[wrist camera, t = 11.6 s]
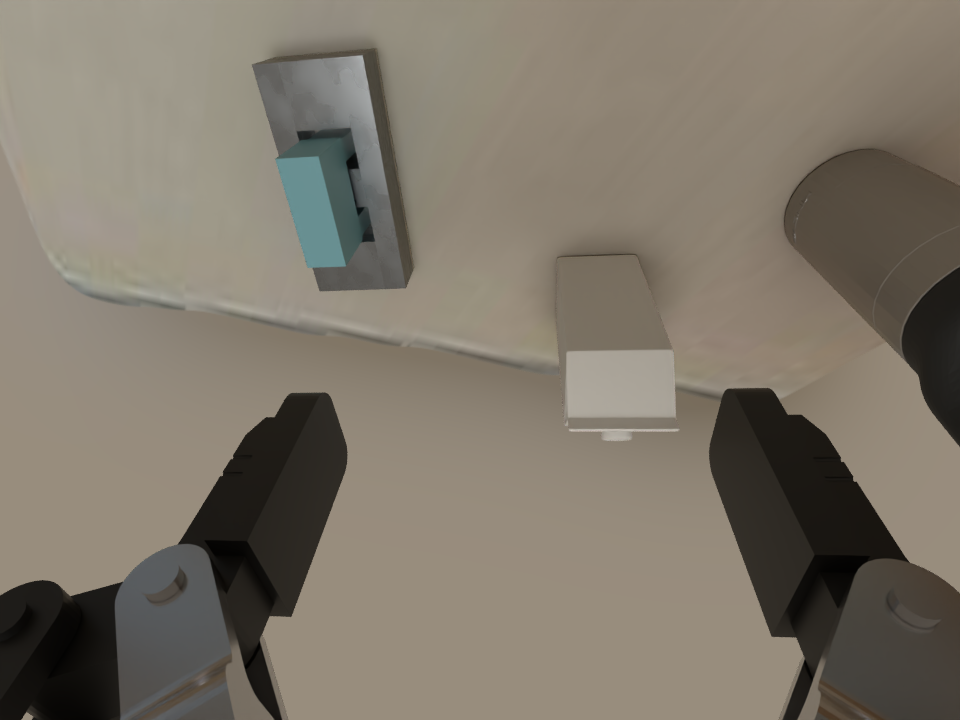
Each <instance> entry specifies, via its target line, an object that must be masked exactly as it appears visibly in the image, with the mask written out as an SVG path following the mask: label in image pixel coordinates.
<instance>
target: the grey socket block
mask: <svg viewBox="0 0 960 720" xmlns="http://www.w3.org/2000/svg"><path fill="white" fill-rule="evenodd" d="M252 67H253V70H254V73H255V77H256V80H257V83H258V87H259V90H260V93H261V97H262V100H263V104H264V107H265V110H266V114H267V117H268V120H269V124H270V127H271V130H272V134H273V137H274V140H275V144H276V147H277V150H278V154H279V156H280V155H281V154H283V153H284V152H286V151H287V150H288V149H290V148H291V147H292V146H294V145H295V144H297V143H298V142H299V141H301V140H308V139H309V138H311V137H312V136H313V135H315V134H316V133H317V132H319V131H320V130H326V129H342V128H351V131H352V136H353V140H354V145H355V150H356V152H355V153H354V154H353V155H352V156H351V157H350V158H349V159H348V160H347V161H346V165H347V169H348V174H349V178H350V183H351V187H352V192H353V196H354V201H355V205H356V207H368V211H369V215H370V220H371V223H370V224H369V226H368V227H367V229H366V231H365V232H364V234H363V235H362V237H363V240H362V242H361V243H360V245H359V247H358V248H357V250H356V251H355V253H354V255H353V256H352V258H351V259H350V261H349V262H348V264H347V266H345V267H316V268H313V271H314V274H315V277H316V281H317V284H318V287H319V291H341V290H369V289H397V288H406V287H407V284H408V282H409V279H410V277H411V274H412V272H413V269H414V265H413V259H412V253H411V248H410V242H409V236H408V230H407V224H406V218H405V213H404V207H403V201H402V195H401V189H400V183H399V178H398V172H397V166H396V160H395V154H394V148H393V143H392V137H391V131H390V125H389V119H388V113H387V108H386V102H385V96H384V90H383V84H382V78H381V73H380V67H379V61H378V55H377V49H366V50H355V51H343V52H332V53H320V54H309V55H297V56H286V57H274V58H271V59H268V60H265V61H262V62H259V63H256V64H253V65H252Z"/></svg>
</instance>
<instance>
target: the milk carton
mask: <svg viewBox="0 0 960 720" xmlns="http://www.w3.org/2000/svg"><path fill="white" fill-rule="evenodd" d="M556 329H557V341H558V354H559V366H560V379H561V391H562V404H563V417H564V426H568V428H569V431H601V439H602V440H605V441H626V440H631V439H632V431H679V426H678V423H677V420H676V408H675V407H676V406H675V375H674V350H673V349H672V346H671V344H670V341H669V338H668V336H667V333H666V331H665V328H664V325H663V323H662V320H661V318H660V315H659V312H658V310H657V307H656V305H655V302H654V300H653V297H652V294H651V292H650V289H649V287H648V284H647V281H646V279H645V276H644V274H643V271H642V268H641V266H640V263H639V261H638V258H637V256H636V255H608V256H579V257H559V258H557V297H556Z"/></svg>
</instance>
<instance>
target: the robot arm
mask: <svg viewBox="0 0 960 720" xmlns="http://www.w3.org/2000/svg"><path fill="white" fill-rule="evenodd" d="M784 222H785V232H786V235H787V237H788V240H789V242H790V243H791V244H792V246H793V247H794V248H795V249H796V250H797V251H798V252H799V253H800V254H801V255H802V256H803V257H804V258H805V259H806V260H807V261H808V262H809V263H810V264H811V266H812V267H813V268H814V269H815V270H816V271H817V272H818V273H819V274H820V275H821V276H822V277H823V278H824V279H825V280H826V281H827V282H828V283H829V284H830V285H831V286H832V287H833V288H834V289H835V290H836V291H837V292H838V293H839V294H840V295H841V296H842V297H843V298H844V299H845V300H846V301H847V302H848V303H849V305H850V306H851V307H852V308H853V309H854V310H855V311H856V312H857V313H858V314H859V315H860V316H861V317H862V318H863V319H864V320H865V321H866V322H867V323H868V324H869V325H870V326H871V327H872V328H873V329H874V330H875V331H876V332H877V333H878V334H879V335H880V336H881V337H882V338H883V339H884V340H885V341H886V342H887V343H888V344H889V345H890V346H891V347H892V348H893V349H894V350H895V351H896V352H897V353H898V354H899V355H900V356H901V357H902V358H903V359H904V360H905V361H906V362H907V363H908V364H909V365H910V367H911V368H912V369H913V370H914V371H915V372H916V373H917V374H918V376H919V380H920V386H921V390H922V394H923V396H924V399H925V401H926V403H927V405H928V407H929V408H930V410H931V411H932V413H933V414H934V415H935V417H936V418H937V419H938V421H939V422H940V423H941V424H942V425H943V427H944V428H945V429H946V430H947V431H948V433H949V434H950V435H951V437H952V438H953V439H954V440H955V441H956V443H957V444H958V445H959V446H960V186H959V185H957V184H955V183H953V182H951V181H949V180H947V179H945V178H942V177H940V176H938V175H936V174H934V173H932V172H930V171H928V170H926V169H924V168H922V167H920V166H915V165H912V164H910V163H908V162H906V161H904V160H902V159H900V158H898V157H896V156H894V155H891V154H889V153H887V152H885V151H880V150H874V149H869V150H857V151H853V152H849V153H845V154H842V155H840V156H838V157H835V158H833V159H831V160H829V161H828V162H826V163H824V164H823V165H821V166H820V167H818V168H817V169H816V170H815V171H813V172H812V173H811V174H810V175H809V176H807V178H806V179H805V180H804V181H803V182H802V183H801V184H800V186H799V187H798V188H797V190H796V191H795V193H794V194H793V196H792V198H791V199H790V202H789V205H788V207H787V210H786V215H785V221H784ZM233 457H234V458H233V459H231V460H230V461H229V463H228V465H227V466H226V468H225V469H224V471H223V476H220V477H219V479H218V481H217V482H216V484H215V486H214V487H213V489H212V491H211V492H210V494H209V495H208V497H207V499H206V500H205V502H204V503H203V505H202V507H201V509H200V510H199V512H198V513H197V515H196V517H195V518H194V520H193V521H192V523H191V525H190V526H189V528H188V529H187V531H186V533H185V534H184V536H183V537H182V539H181V541H180V542H179V543H178V545H174V546H171V547H167V548H165V549H163V550H160V551H158V552H156V553H155V554H153V555H151V556H150V557H148V558H147V559H145V560H144V561H142V562H141V563H140V564H139V565H138V566H137V567H135V569H133V571H132V572H131V573H130V574H129V575H128V576H127V577H126V579H125V580H124V582H121V583H117V584H113V585H110V586H106V587H103V588H99V589H96V590H92V591H88V592H84V593H81V594H77V595H74V596H69V595H68V594H67V593H66V592H65V591H64V590H63V589H62V588H61V587H60V586H59V585H58V584H56V583H54V582H51V581H44V580H42V581H34V582H29V583H26V584H23V585H20V586H18V587H15V588H13V589H11V590H9V591H7V592H6V593H4V594H2V595H0V720H21V719H22V718H23V716H24V714H25V713H26V712H28V713H29V714H30V715H32V716H33V719H32V720H288V717H287V714H286V710H285V707H284V703H283V700H282V697H281V693H280V690H279V686H278V683H277V680H276V676H275V673H274V669H273V666H272V663H271V659H270V656H269V653H268V649H267V646H266V642H265V639H264V637H263V635H262V633H263V630H264V628H265V626H266V623H267V621H268V618H269V616H286V617H291V616H292V614H293V611H294V608H295V605H296V603H297V600H298V597H299V595H300V592H301V589H302V587H303V584H304V581H305V578H306V575H307V573H308V570H309V568H310V565H311V562H312V560H313V557H314V554H315V552H316V549H317V546H318V543H319V541H320V538H321V535H322V533H323V530H324V527H325V525H326V522H327V519H328V516H329V514H330V511H331V508H332V506H333V502H334V500H335V497H336V495H337V492H338V489H339V487H340V484H341V481H342V479H343V476H344V473H345V469H346V465H347V446H346V442H345V439H344V436H343V432H342V429H341V427H340V423H339V420H338V417H337V414H336V412H335V409H334V405H333V402H332V399H331V397H330V396H329V395H328V394H327V393H291V394H289V395H288V396H287V397H286V399H285V400H284V402H283V404H282V405H281V407H280V409H279V411H278V412H277V414H276V416H275V417H269V418H268V417H266V418H265V419H264V420H262V421H261V422H260V423H259V424H258V425H257V426H255V427H254V428H253V429H252V430H251V431H250V432H249V433H247V434H246V435H245V437H244V439H243V440H242V442H241V443H240V445H239V447H238V448H237V450H236V452H235V453H234V455H233ZM709 459H710V467H711V472H712V475H713V478H714V481H715V484H716V486H717V489H718V492H719V494H720V497H721V500H722V503H723V505H724V508H725V511H726V513H727V516H728V519H729V522H730V524H731V527H732V530H733V532H734V535H735V538H736V541H737V544H738V546H739V549H740V552H741V554H742V557H743V560H744V563H745V565H746V568H747V571H748V573H749V576H750V579H751V581H752V584H753V587H754V590H755V592H756V595H757V598H758V600H759V603H760V606H761V608H762V612H763V614H764V617H765V620H766V622H767V625H768V627H769V631H770V633H771V636H772V637H796V638H797V640H798V642H799V645H800V647H801V650H802V652H803V655H804V656H803V658H802V660H801V662H800V664H799V667H798V669H797V672H796V674H795V677H794V680H793V682H792V685H791V688H790V690H789V693H788V696H787V698H786V701H785V704H784V706H783V709H782V712H781V714H780V717H779V720H960V593H959V592H958V591H957V590H956V589H955V588H954V587H952V586H951V585H950V584H949V583H947V582H946V581H945V580H943V579H942V578H940V577H939V576H937V575H935V574H934V573H932V572H930V571H928V570H926V569H924V568H922V567H920V566H917V565H915V564H912V563H910V562H909V561H908V560H907V558H906V557H905V556H904V554H903V553H902V551H901V550H900V548H899V547H898V545H897V544H896V542H895V540H894V539H893V537H892V536H891V534H890V533H889V531H888V530H887V528H886V526H885V525H884V523H883V522H882V520H881V519H880V517H879V516H878V514H877V513H876V511H875V509H874V508H873V507H872V505H871V503H870V502H869V500H868V499H867V497H866V496H865V494H864V493H863V491H862V489H861V488H860V486H859V485H858V483H857V482H854V481H853V475H852V474H851V472H850V471H849V469H848V468H847V466H846V465H845V463H844V462H841V457H840V455H839V454H838V452H837V451H836V449H835V448H834V446H833V445H832V443H831V441H830V440H829V438H828V437H827V436H826V434H825V433H823V432H822V431H821V430H820V429H819V428H817V427H816V426H815V425H814V424H812V423H811V422H810V421H809V420H807V419H806V418H805V417H803V416H802V415H787V413H786V411H785V410H784V408H783V406H782V404H781V403H780V401H779V399H778V398H777V396H776V394H775V393H774V392H773V391H772V390H771V389H769V388H739V389H727V390H726V391H725V392H724V394H723V396H722V400H721V404H720V408H719V412H718V415H717V419H716V423H715V427H714V431H713V435H712V438H711V443H710V450H709Z"/></svg>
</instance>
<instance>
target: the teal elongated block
mask: <svg viewBox="0 0 960 720" xmlns="http://www.w3.org/2000/svg"><path fill="white" fill-rule="evenodd" d="M355 152H356V150H355V145H354V140H353V136H352V131H351V128H342V129H326V130H320V131H319V132H317V133H316V134H315V135H313V136H312V137H311V138H309V139H308V140H301V141H299V142H298V143H297V144H295V145H294V146H292V147H291V148H290V149H288V150H287V151H286V152H284V153H283V154H281V155H280V156H279V157H277V158H276V159H275V160H276V163H277V166H278V170H279V173H280V176H281V180H282V183H283V186H284V190H285V193H286V196H287V200H288V203H289V207H290V210H291V213H292V217H293V220H294V223H295V227H296V230H297V233H298V237H299V240H300V243H301V247H302V250H303V253H304V257H305V260H306V263H307V267H308V268H316V267H345V266H347V264H348V262H349V261H350V259H351V258H352V256H353V255H354V253H355V251H356V250H357V248H358V247H359V245H360V243H361V242H362V240H363V237H362V235H363V234H364V232H365V231H366V229H367V227H368V226H369V224H370V223H371V220H370V215H369V211H368V207H356V205H355V201H354V196H353V192H352V187H351V183H350V178H349V174H348V169H347V165H346V161H347V160H348V159H349V158H350V157H351V156H352V155H353V154H354V153H355Z"/></svg>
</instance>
